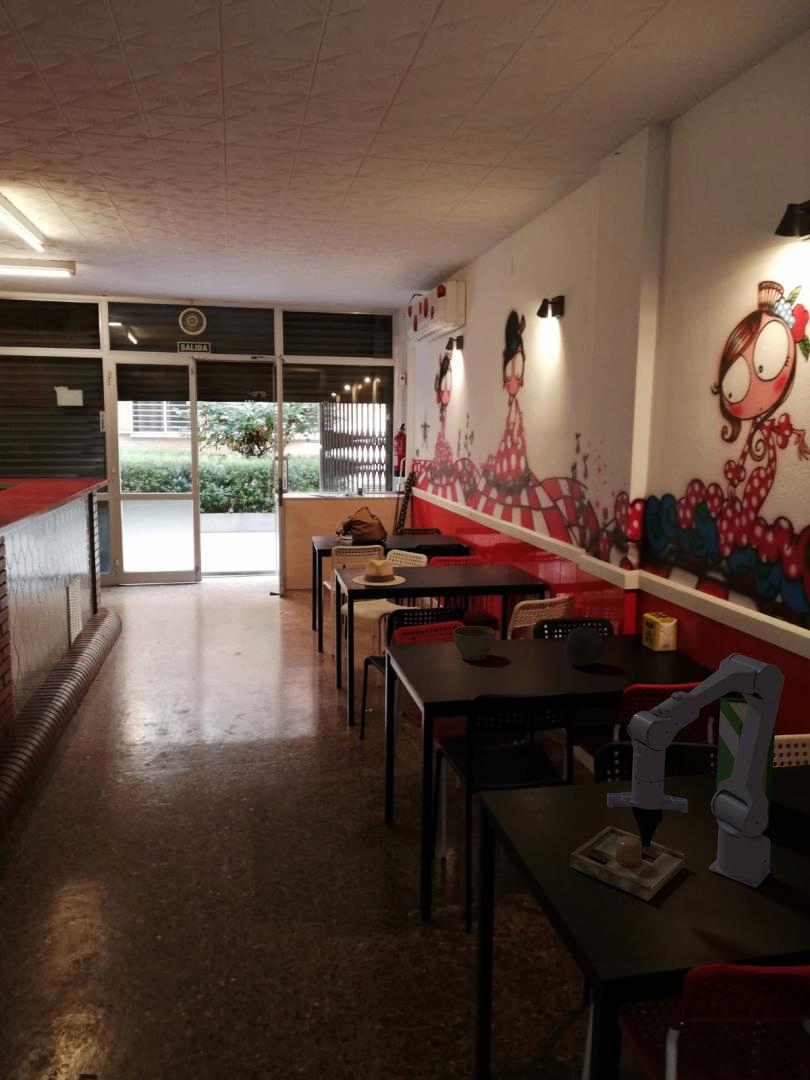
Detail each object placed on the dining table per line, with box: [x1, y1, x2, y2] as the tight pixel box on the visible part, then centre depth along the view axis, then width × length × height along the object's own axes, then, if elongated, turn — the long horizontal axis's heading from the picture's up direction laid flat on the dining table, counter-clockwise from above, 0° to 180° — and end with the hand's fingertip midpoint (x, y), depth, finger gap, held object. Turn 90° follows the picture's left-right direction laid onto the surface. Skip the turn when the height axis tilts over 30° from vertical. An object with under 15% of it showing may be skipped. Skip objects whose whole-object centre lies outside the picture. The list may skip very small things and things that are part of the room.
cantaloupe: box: [563, 626, 605, 668], centre depth 293 cm, size 14×14×15 cm
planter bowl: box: [452, 625, 496, 662], centre depth 304 cm, size 16×16×11 cm
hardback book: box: [715, 697, 776, 830], centre depth 181 cm, size 18×7×24 cm, turn 171°
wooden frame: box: [569, 825, 686, 902], centre depth 158 cm, size 17×16×3 cm
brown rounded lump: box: [616, 836, 643, 868], centre depth 157 cm, size 5×5×4 cm
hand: (645, 843), depth 147 cm, fingers closed
